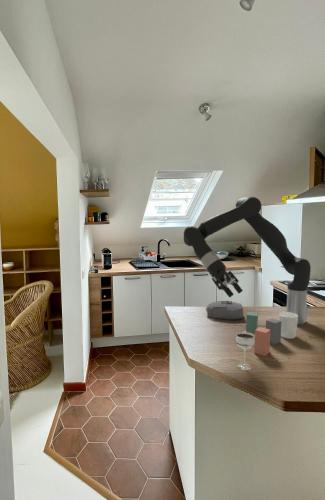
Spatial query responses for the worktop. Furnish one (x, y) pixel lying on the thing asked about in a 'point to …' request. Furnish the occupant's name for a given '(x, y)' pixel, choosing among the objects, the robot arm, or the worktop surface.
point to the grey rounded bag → (225, 310)
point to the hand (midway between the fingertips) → (236, 294)
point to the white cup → (288, 324)
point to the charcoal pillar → (274, 330)
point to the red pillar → (262, 341)
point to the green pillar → (251, 322)
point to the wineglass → (245, 345)
